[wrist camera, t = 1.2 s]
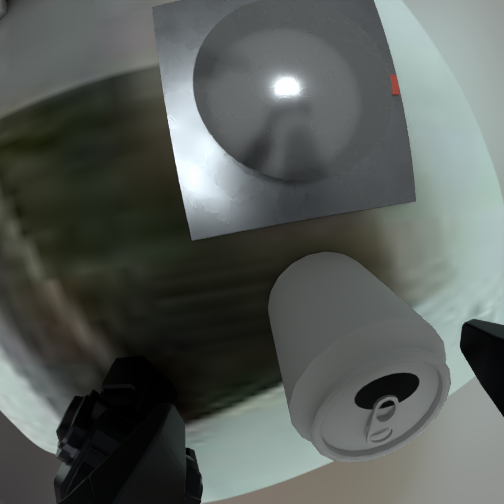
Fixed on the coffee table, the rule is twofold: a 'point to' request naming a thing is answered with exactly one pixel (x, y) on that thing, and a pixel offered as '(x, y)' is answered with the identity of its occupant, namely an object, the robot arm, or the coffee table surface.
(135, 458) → the robot arm
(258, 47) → the square metal dish
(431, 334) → the can
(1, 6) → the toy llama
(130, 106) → the coffee table surface
